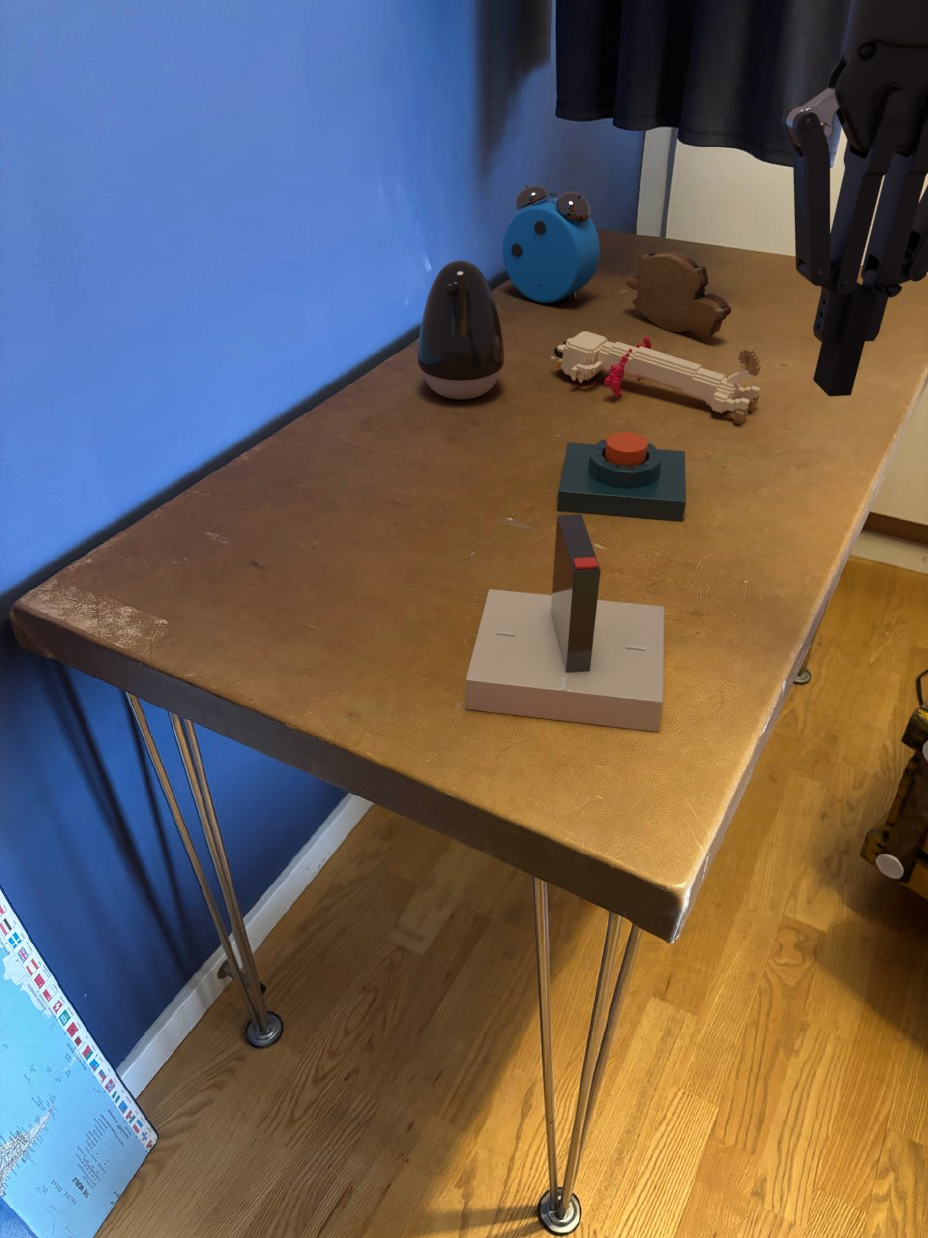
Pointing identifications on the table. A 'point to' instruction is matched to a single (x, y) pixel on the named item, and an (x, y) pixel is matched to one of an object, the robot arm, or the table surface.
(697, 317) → the wooden carving
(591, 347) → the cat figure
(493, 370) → the dark egg shaped device
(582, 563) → the tap handle
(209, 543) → the table surface
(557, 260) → the alarm clock
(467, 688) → the plate
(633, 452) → the button
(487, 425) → the table surface
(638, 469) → the button block
